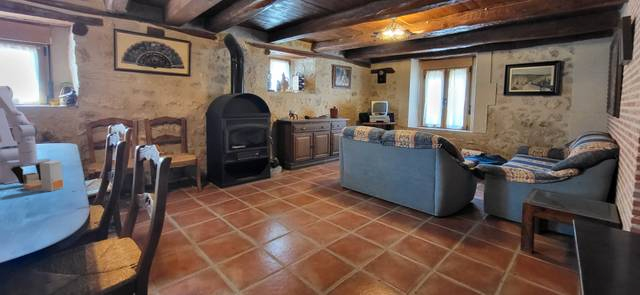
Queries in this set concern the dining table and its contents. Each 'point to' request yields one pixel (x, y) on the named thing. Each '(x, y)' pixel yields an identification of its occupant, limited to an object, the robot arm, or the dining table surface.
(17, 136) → the robot arm
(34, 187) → the terracotta base
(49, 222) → the dining table surface
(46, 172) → the skincare box
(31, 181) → the ash block
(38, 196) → the dining table surface
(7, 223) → the dining table surface
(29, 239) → the dining table surface
